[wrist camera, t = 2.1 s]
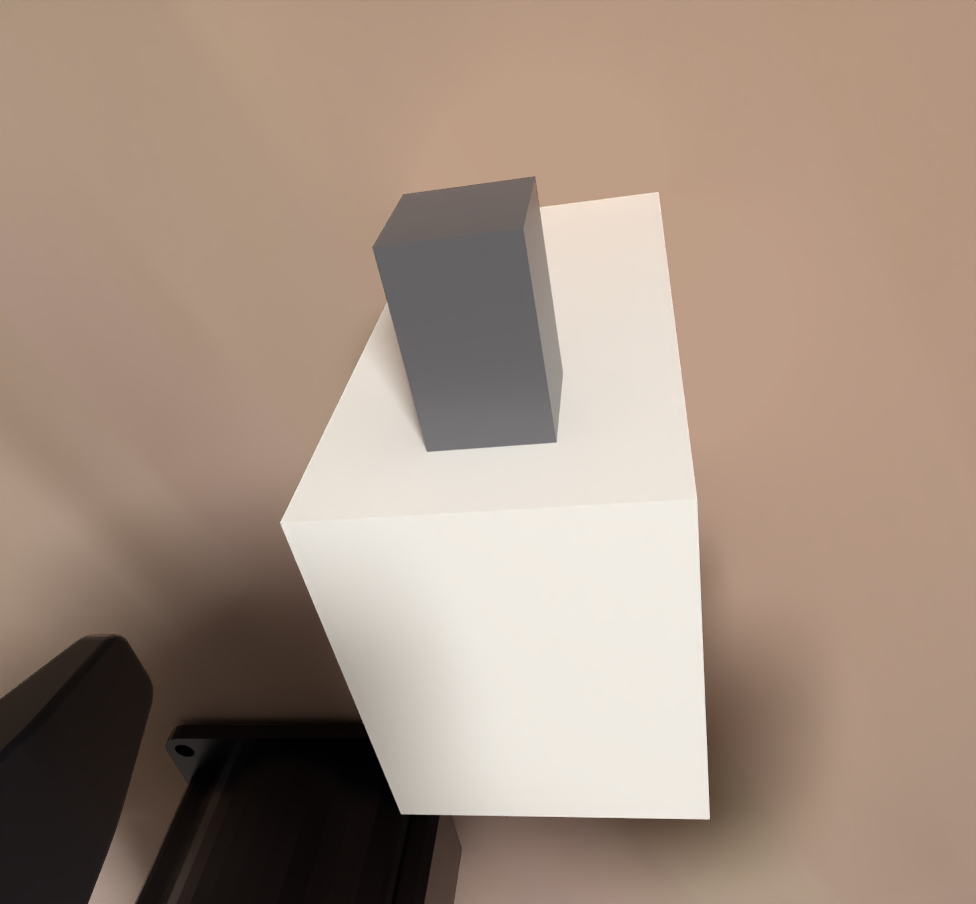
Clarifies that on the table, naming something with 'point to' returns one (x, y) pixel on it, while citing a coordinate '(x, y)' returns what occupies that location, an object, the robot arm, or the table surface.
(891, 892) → the table surface
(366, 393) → the plug
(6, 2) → the table surface
